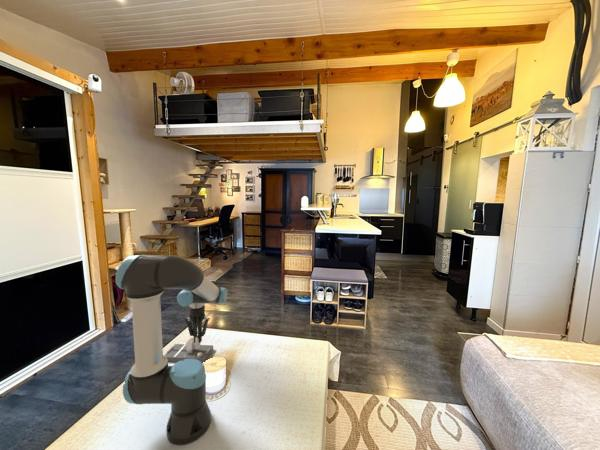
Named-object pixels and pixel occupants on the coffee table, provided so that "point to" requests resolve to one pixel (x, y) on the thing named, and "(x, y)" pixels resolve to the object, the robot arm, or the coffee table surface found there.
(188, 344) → the fader
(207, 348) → the console
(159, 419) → the coffee table surface
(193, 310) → the robot arm
